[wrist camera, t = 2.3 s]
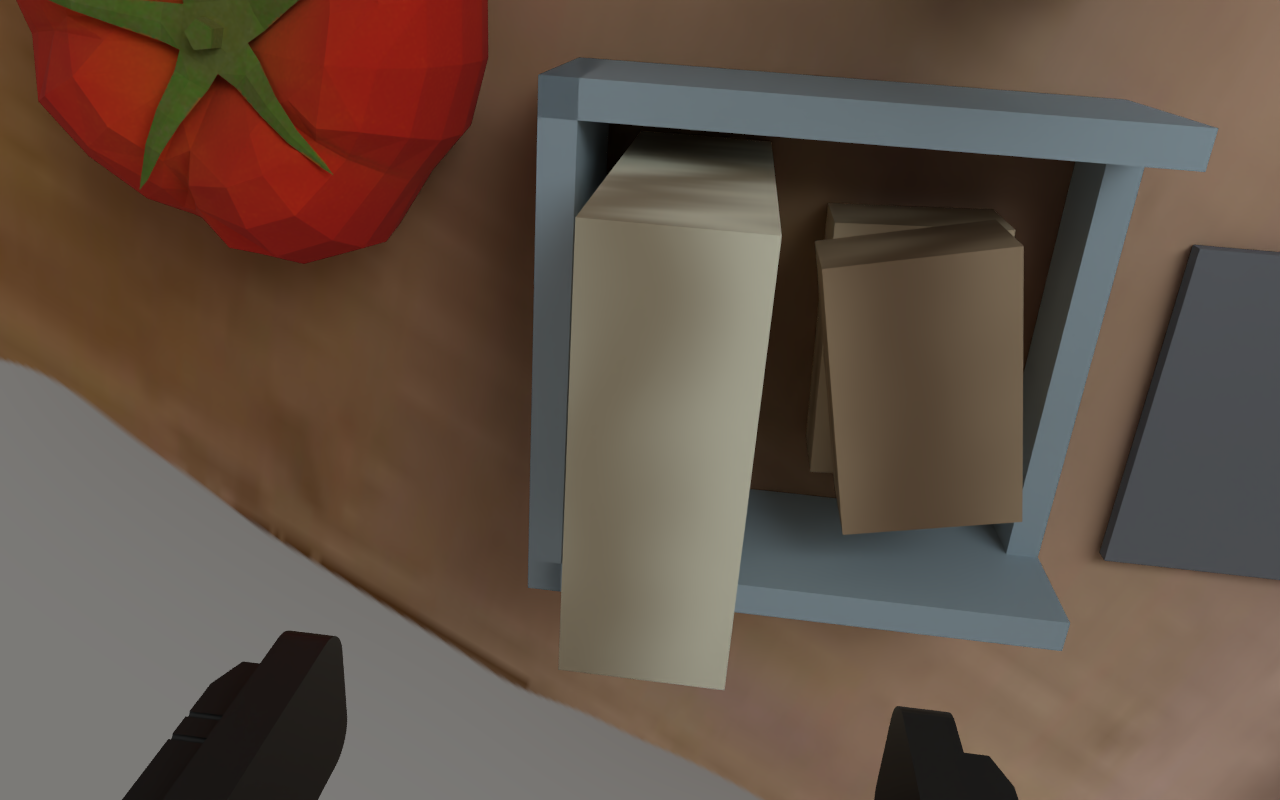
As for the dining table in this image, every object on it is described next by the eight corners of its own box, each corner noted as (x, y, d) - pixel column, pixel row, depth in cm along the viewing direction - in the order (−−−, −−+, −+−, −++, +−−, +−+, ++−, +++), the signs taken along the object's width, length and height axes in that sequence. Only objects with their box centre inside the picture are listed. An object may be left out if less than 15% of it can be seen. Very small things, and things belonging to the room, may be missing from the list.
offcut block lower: (991, 207, 30) (1015, 230, 27) (953, 440, 33) (971, 482, 30) (827, 201, 30) (835, 222, 27) (805, 431, 33) (810, 471, 31)
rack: (1126, 100, 28) (1218, 128, 22) (1011, 542, 34) (1061, 650, 28) (579, 57, 29) (538, 74, 23) (563, 492, 35) (527, 587, 29)
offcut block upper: (995, 219, 27) (1023, 246, 24) (997, 472, 30) (1022, 521, 27) (814, 240, 28) (821, 269, 25) (834, 485, 31) (842, 534, 28)
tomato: (70, -196, 28) (-196, -265, 20) (487, -253, 26) (374, -353, 18) (189, 236, 33) (13, 315, 25) (547, 212, 31) (478, 289, 23)
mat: (1471, 269, 29) (1482, 273, 28) (1338, 579, 33) (1347, 587, 33) (1193, 244, 29) (1200, 248, 29) (1099, 552, 34) (1104, 560, 33)
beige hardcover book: (771, 141, 29) (781, 235, 18) (733, 461, 34) (724, 690, 23) (640, 130, 30) (575, 217, 19) (621, 449, 34) (558, 669, 23)
